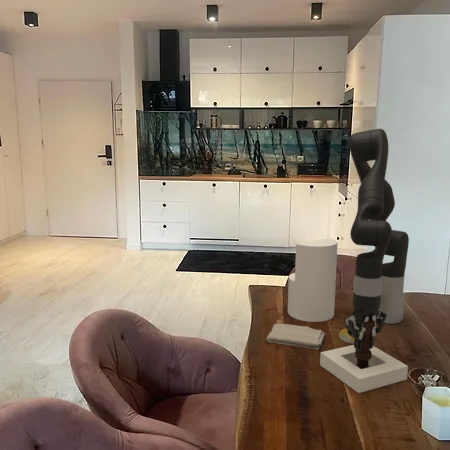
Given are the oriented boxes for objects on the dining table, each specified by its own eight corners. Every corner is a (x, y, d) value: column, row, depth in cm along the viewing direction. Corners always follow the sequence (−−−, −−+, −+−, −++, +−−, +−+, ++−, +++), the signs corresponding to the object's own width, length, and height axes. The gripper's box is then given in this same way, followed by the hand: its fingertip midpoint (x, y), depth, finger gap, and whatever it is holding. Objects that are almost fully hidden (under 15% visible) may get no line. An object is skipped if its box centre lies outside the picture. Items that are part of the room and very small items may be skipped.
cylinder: (343, 315, 180) (347, 242, 174) (310, 325, 170) (313, 248, 165) (311, 301, 194) (313, 234, 188) (278, 310, 184) (280, 239, 179)
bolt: (372, 374, 134) (375, 324, 131) (353, 372, 135) (356, 322, 132) (370, 364, 139) (373, 316, 137) (352, 363, 140) (355, 314, 138)
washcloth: (320, 352, 151) (321, 342, 150) (265, 343, 156) (265, 335, 156) (325, 336, 162) (325, 328, 161) (273, 329, 167) (273, 321, 167)
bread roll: (371, 340, 159) (372, 328, 158) (353, 346, 154) (353, 335, 153) (352, 331, 165) (353, 320, 165) (334, 337, 161) (334, 326, 160)
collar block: (365, 354, 148) (366, 341, 148) (407, 379, 133) (408, 366, 132) (320, 365, 141) (320, 352, 140) (358, 393, 126) (359, 379, 125)
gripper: (377, 283, 139) (373, 339, 142) (338, 290, 133) (335, 348, 136) (396, 291, 132) (392, 349, 136) (356, 298, 126) (352, 359, 130)
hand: (363, 348), depth 136 cm, fingers closed on bolt, 3 cm apart
